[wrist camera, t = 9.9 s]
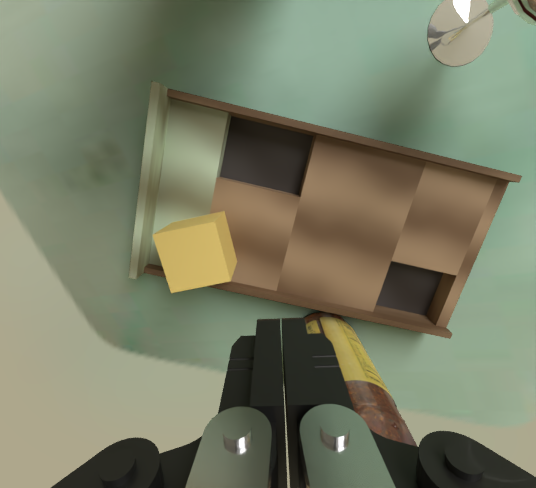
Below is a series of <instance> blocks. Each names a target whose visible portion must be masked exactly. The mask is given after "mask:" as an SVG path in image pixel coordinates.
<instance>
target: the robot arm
mask: <svg viewBox="0 0 536 488" xmlns="http://www.w3.org/2000/svg"><path fill="white" fill-rule="evenodd" d="M282 343H283V369H284V388H285V405H286V422H287V440H288V457H289V475H290V488H536V477H534V476H533V475H531V474H529V473H528V472H526V471H525V470H523V469H521V468H520V467H518V466H516V465H515V464H513V463H511V462H510V461H508V460H506V459H505V458H503V457H501V456H500V455H498V454H497V453H495V452H493V451H492V450H490V449H488V448H486V447H485V446H484V445H482V444H480V443H478V442H477V441H475V440H473V439H471V438H469V437H467V436H464V435H462V434H458V433H455V432H450V431H436V432H432V433H430V434H428V435H426V436H425V437H424V438H423V439H422V441H421V442H420V445H419V447H417V446H413V445H410V444H406V443H402V442H398V441H394V440H391V439H388V438H385V437H383V436H381V435H379V434H377V433H375V432H374V431H372V430H371V429H369V427H368V426H367V424H366V422H365V421H364V420H363V418H361V417H360V416H359V415H358V414H357V413H356V412H355V410H354V407H353V404H352V401H351V398H350V395H349V392H348V389H347V386H346V383H345V380H344V377H343V374H342V371H341V368H340V366H339V362H338V359H337V357H336V353H335V350H334V347H333V344H332V342H331V341H330V340H329V339H328V338H327V337H326V336H325V335H324V334H323V333H313V334H308V333H307V328H306V323H305V319H304V318H282ZM285 442H286V441H285V414H284V392H283V372H282V353H281V334H280V319H257V327H256V336H240V338H239V339H238V340H237V341H236V342H235V343H234V345H233V346H232V349H231V354H230V361H229V364H228V370H227V373H226V378H225V383H224V388H223V392H222V397H221V402H220V407H219V412H218V414H217V415H216V416H215V417H214V418H212V420H211V421H210V422H209V423H208V425H207V426H206V428H205V430H204V433H203V436H201V437H200V438H199V439H197V440H196V441H193V442H192V443H190V444H187V445H184V446H182V447H179V448H175V449H173V450H170V451H166V452H163V453H160V454H159V451H158V448H157V447H156V446H155V444H154V443H152V442H151V441H149V440H147V439H143V438H128V439H125V440H121V441H119V442H116V443H114V444H112V445H110V446H108V447H107V448H105V449H104V450H102V451H101V452H99V453H98V454H97V455H95V456H94V457H92V458H91V459H90V460H88V461H87V462H86V463H84V464H83V465H81V466H80V467H79V468H77V469H76V470H75V471H73V472H72V473H70V474H69V475H68V476H66V477H65V478H63V479H62V480H61V481H60V482H58V483H57V484H55V485H54V486H53V487H51V488H287V469H286V468H287V467H286V443H285Z"/></svg>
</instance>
